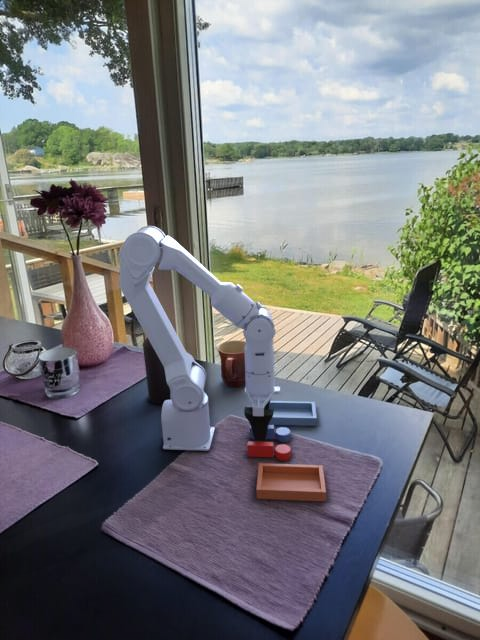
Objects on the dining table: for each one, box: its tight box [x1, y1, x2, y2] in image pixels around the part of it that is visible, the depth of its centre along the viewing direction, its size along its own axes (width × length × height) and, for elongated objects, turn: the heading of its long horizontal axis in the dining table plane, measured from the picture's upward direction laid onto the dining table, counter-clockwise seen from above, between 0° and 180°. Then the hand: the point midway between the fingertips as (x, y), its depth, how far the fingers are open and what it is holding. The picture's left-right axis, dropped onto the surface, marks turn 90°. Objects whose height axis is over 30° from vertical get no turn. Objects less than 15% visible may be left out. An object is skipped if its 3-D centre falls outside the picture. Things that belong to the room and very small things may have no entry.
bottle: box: [142, 336, 171, 405], centre depth 106 cm, size 7×7×20 cm
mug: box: [216, 340, 246, 389], centre depth 112 cm, size 12×9×10 cm
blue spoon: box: [249, 424, 291, 443], centre depth 91 cm, size 8×3×3 cm, turn 85°
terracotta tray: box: [255, 462, 327, 502], centre depth 77 cm, size 12×7×2 cm, turn 85°
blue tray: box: [269, 400, 318, 427], centre depth 99 cm, size 12×7×2 cm, turn 85°
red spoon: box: [246, 441, 292, 461], centre depth 85 cm, size 8×3×3 cm, turn 85°
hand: (261, 428), depth 91 cm, fingers open, 7 cm apart
